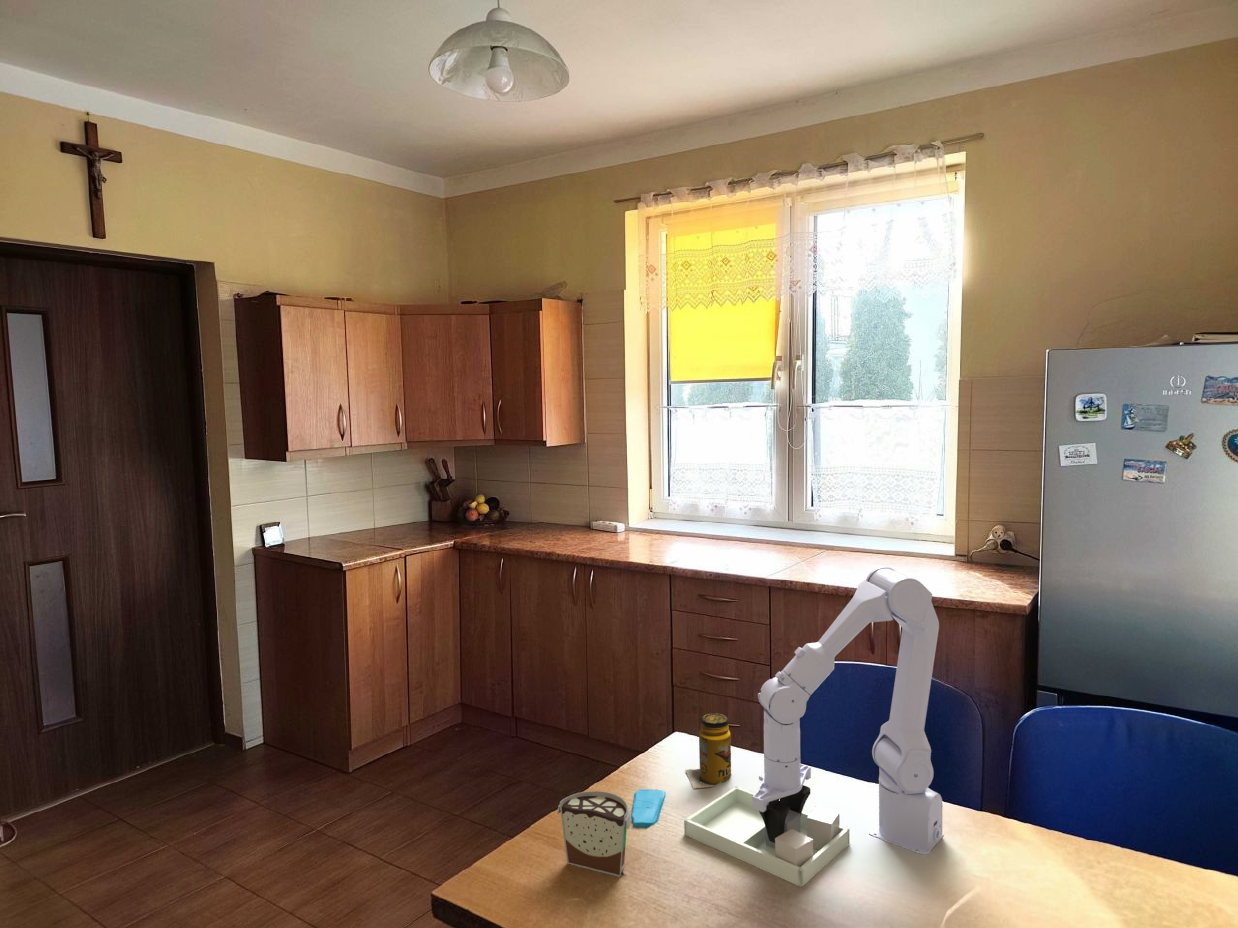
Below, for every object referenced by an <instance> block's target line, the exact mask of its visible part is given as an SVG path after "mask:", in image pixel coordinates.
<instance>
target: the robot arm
mask: <svg viewBox="0 0 1238 928" xmlns="http://www.w3.org/2000/svg"><path fill="white" fill-rule="evenodd" d="M932 599H933V593H932V592H931V591H930V590H929V589H928V588H927V587H926V586H925V585H924V584H923V583H922V582H921V581H920V580H918V579H915V578H913V577H909V576H907V575H905V574H903V573H900V572H898V571H897V570H895V569H894V568H892V567H889V566H888V567H887V566H881V567H880V566H879V567H877V568H875V569H873V570H871V571H870V572H869V574H868V575H867V577H866V578H865V579H864V580H863V581H861V582H860V583H859V584H858V586H857V588H856V590H855V593H854V595H853V597H852V598H851V600H850V601H849V602H848V603H847V604H846V605H845V607H844V608H843V609H842V611H841V612H840V613H839V614H838V616H837V617H836V619H835V620H833V622H832V623H831V625H830V626H829V627H828V628H827V630H826V631H825V632H824V634H822V636H821V638H820V639H818V641H817V642H810V643H809V642H808V643H805V644H804V646H802V647H800V646H798V647H797V648H796V649H795V650H794V652H793V653H794V654H795V655H794V656H793V658H792V659H791V660H790V661H789V662H788V663H787V664H786V665H785V667H784V668H783V669H782V670H781V671H777V672H776V674H775V675H774V676H775V677H773V678H770V679H767V680H766V681H765V682H764V683H763V684H762V686H761V688H760V691H761V692H759V693H757V699H758V702H759V703H760V705H761V706H762V707H763V708H764V710H763V764H764V765H763V769H764V771H763V772H762V773H760V774H759V775H758V780H759V781H761V783H760V785H759V787H758V789H757V791H756V793H755V795H754V796H752V808H753V809H756V810H758V811H759V812H760V814H761V816H762V818H763V821H764V824H765V827H766V831H767V834H768V838H769V841H771V842H773V843H775V838H776V837H778V836H780V835H782V834H783V833H784V826H785V820H786V816H787V814H788V811H789V810H792V811H794V812H797V813H800V817H801V813H802V811H804V807H805V804H806V802H807V800H808V798H809V796H810V795H811V788H810V787H809V786H808V785H804V783H805V781H806V780H807V781H808V780H810V779H811V778H812V772H811V771H812V770H811V769H812V768H811V766H809V765H806V764H803V763H801V728H800V727H801V726H800V721H801V720H800V718H803V716H804V715H805V713H806V709H807V702H808V701H809V699H810V697H811V695H813V693H814V692H815V691H816V690H818V688H819V687H820V685H822V684H823V682H824V681H825V680H827V677H828V676H830V674H831V673H832V672H833V671H834V670H835V657H836V656H837V655H838V654H839V653H840V652H842V650H843V649H844V648H845V647H846V646H848V644H850V642H852V641H853V640H854V638H855V637H857V636H858V635H859V634H860V632H862V631H863V630H864V628H866V627H867V626H868V625H869V624H870V623H878V622H889V621H893V620H895V621H896V622H897V623H898V625H899V626H900V627H901V628H902V629H901V638H900V644H899V650H898V657H897V664H896V671H895V676H894V677H895V678H894V684H893V685H894V686H893V692H892V699H891V705H890V713H889V719H888V721H886V722H885V723H883V724H882V725H881V726H880V730H879V731H880V732H879V735H878V736H877V738H876V740H875V741H874V744H872V745H873V746H872V747H871V748H872V750H871V753H872V754H871V755H872V756H871V757H872V758H873V761H874V763H875V764H876V765H877V766H878V767H879V770H878V771H879V775H878V824H877V825H876V826H875V827H873V829H872V830H871V831H870V832H868V835H869V836H871V837H874V838H876V839H878V840H882V841H885V842H888V843H890V844H893V845H896V846H898V847H901V848H903V849H906V850H909V851H912V852H914V853H917V854H919V855H923V856H926V855H928V854H929V852H930V851H931V850H932V849H933V848H934V847H935V846H936V845H937V844H938V843H939V842H940V841H941V839H943V837H944V836H945V834H944V833H943V798H942V796H941V794H940V793H938V792H937V791H934V790H932V789H931V788H929V787H930V785H931V784H932V781H933V779H934V767H933V765H932V761H931V760H932V759H931V758H932V757H931V756H932V754H931V753H932V749H931V745H930V743H929V741H928V740H929V739H928V737H927V735H926V732H925V725H926V718H927V712H928V706H929V698H930V692H931V685H932V678H933V672H934V664H935V656H936V651H937V643H938V637H939V631H940V622H939V619H938V615H937V613H936V610H935V608H934V604H933V602H932Z"/></svg>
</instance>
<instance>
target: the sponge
mask: <svg viewBox="0 0 1238 928" xmlns="http://www.w3.org/2000/svg"><path fill="white" fill-rule="evenodd" d="M665 797H666V791H665V790H663V789H662V790H661V789H647V788H646V789H643V788H642V789H637V790H635V792H634V796H633V802H632V808H631V813H630V815H631V819H632V820H631V822H632V825H633V827H635V828H639V827H640V828H651V827H652V826H654V825H655V824H657V823H659V819H660V816H661V815H660V814H661V810H662V808H663V805H664V801H665Z"/></svg>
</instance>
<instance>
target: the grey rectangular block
mask: <svg viewBox="0 0 1238 928" xmlns="http://www.w3.org/2000/svg"><path fill="white" fill-rule="evenodd" d="M791 829H793V830H795V831H797V832H799V833H800V813H797V812H794V811H792V810H789V811H788V814H787V816H786V820H785V826H784V833H785V832H787V831H789V830H791ZM766 845H767V846H769V847H772V848H774V849H775V843H773V842H771V841H769V838H768V834H767V831H766Z"/></svg>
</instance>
